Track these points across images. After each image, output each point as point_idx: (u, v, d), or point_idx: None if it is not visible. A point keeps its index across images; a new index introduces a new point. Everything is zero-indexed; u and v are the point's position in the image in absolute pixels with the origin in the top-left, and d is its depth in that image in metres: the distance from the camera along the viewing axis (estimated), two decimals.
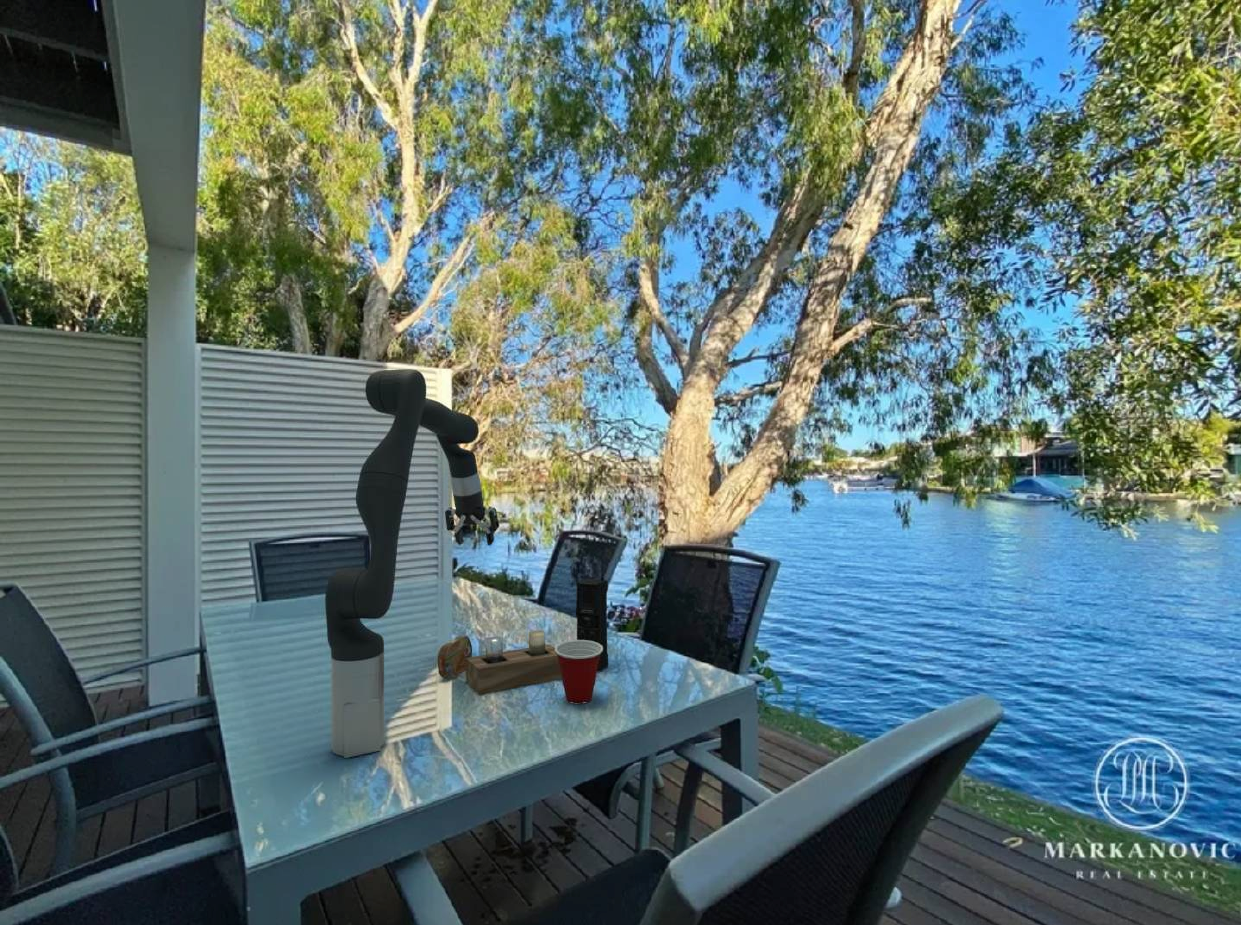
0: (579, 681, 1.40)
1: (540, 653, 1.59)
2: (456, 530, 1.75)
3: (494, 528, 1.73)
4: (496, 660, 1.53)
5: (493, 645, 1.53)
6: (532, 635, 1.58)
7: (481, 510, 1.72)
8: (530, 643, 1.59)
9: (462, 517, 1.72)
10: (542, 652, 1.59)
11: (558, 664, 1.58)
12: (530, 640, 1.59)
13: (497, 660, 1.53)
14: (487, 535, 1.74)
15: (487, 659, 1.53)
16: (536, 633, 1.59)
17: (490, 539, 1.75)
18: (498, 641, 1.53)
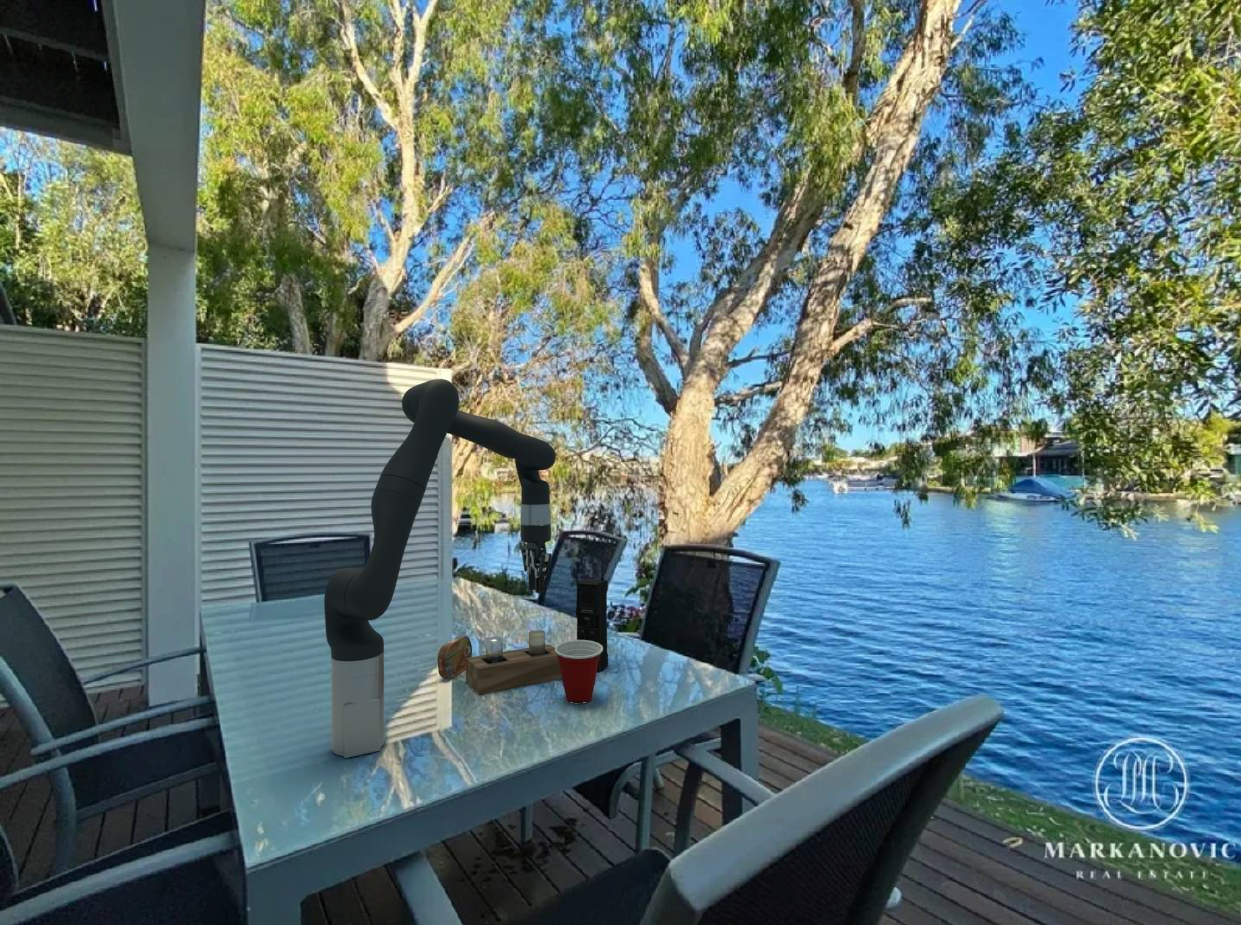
0: (579, 681, 1.40)
1: (540, 653, 1.59)
2: (528, 572, 1.62)
3: (539, 573, 1.56)
4: (496, 660, 1.53)
5: (493, 645, 1.53)
6: (532, 635, 1.58)
7: (538, 548, 1.57)
8: (530, 643, 1.59)
9: (526, 552, 1.61)
10: (542, 652, 1.59)
11: (558, 664, 1.58)
12: (530, 640, 1.59)
13: (497, 660, 1.53)
14: (535, 580, 1.58)
15: (487, 659, 1.53)
16: (536, 633, 1.59)
17: (538, 586, 1.58)
18: (498, 641, 1.53)
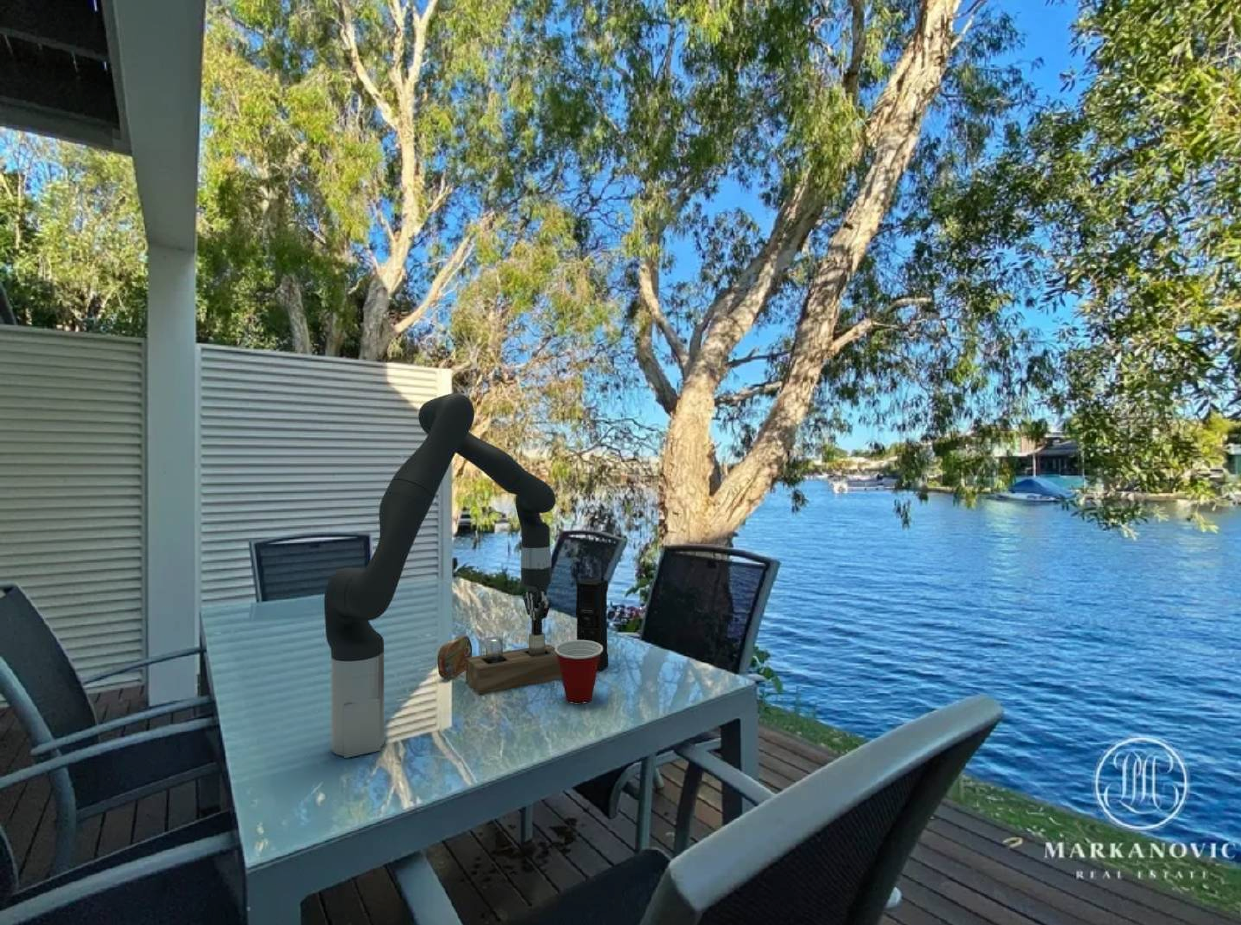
0: (579, 681, 1.40)
1: None
2: (531, 616, 1.60)
3: (536, 616, 1.57)
4: (496, 660, 1.53)
5: (493, 645, 1.53)
6: (532, 637, 1.58)
7: (539, 593, 1.56)
8: (530, 645, 1.59)
9: (526, 595, 1.61)
10: None
11: (558, 664, 1.58)
12: (530, 642, 1.59)
13: (497, 660, 1.53)
14: (533, 622, 1.59)
15: (487, 659, 1.53)
16: (536, 635, 1.59)
17: (535, 628, 1.59)
18: (498, 641, 1.53)
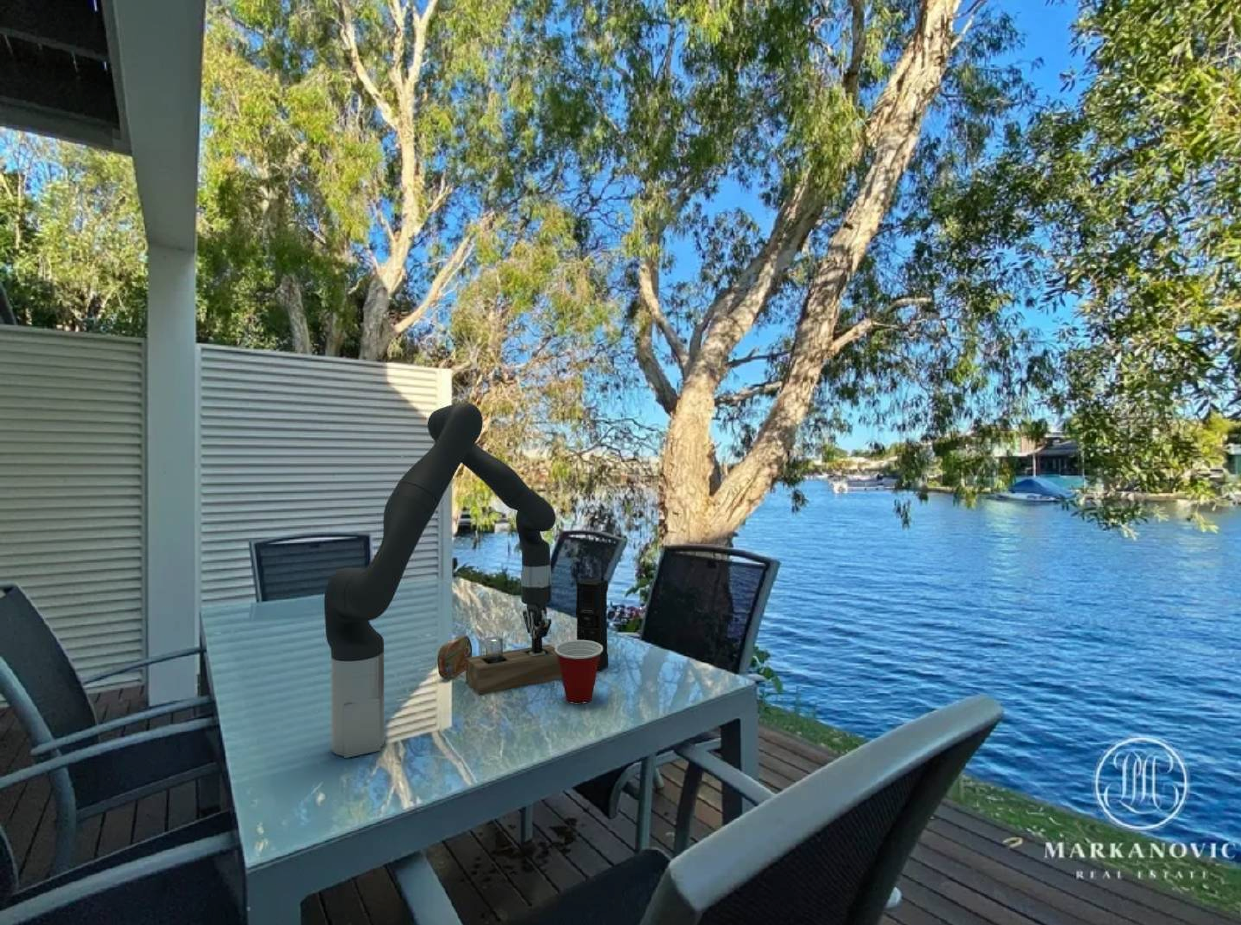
0: (579, 681, 1.40)
1: None
2: (531, 634, 1.60)
3: (537, 635, 1.57)
4: (496, 660, 1.53)
5: (493, 645, 1.53)
6: None
7: (539, 611, 1.56)
8: None
9: (527, 613, 1.61)
10: None
11: (558, 664, 1.58)
12: None
13: (497, 660, 1.53)
14: (533, 640, 1.59)
15: (487, 659, 1.53)
16: (536, 654, 1.59)
17: (535, 646, 1.59)
18: (498, 641, 1.53)
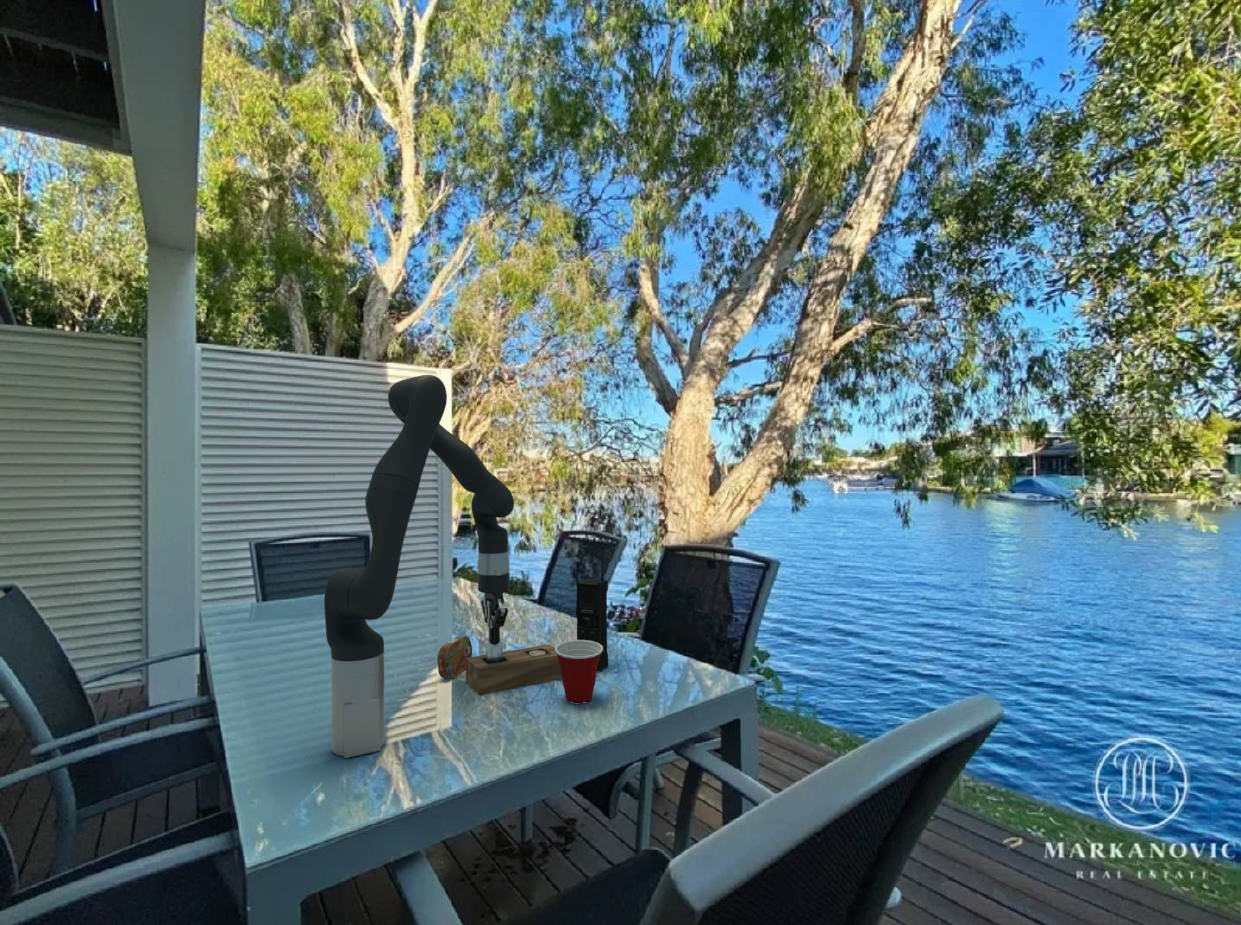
0: (579, 681, 1.40)
1: None
2: (488, 624, 1.54)
3: (493, 624, 1.52)
4: None
5: (493, 650, 1.53)
6: None
7: (496, 600, 1.51)
8: None
9: (484, 602, 1.55)
10: None
11: (558, 664, 1.58)
12: None
13: None
14: (490, 630, 1.54)
15: None
16: (536, 654, 1.59)
17: (492, 636, 1.54)
18: (498, 646, 1.53)
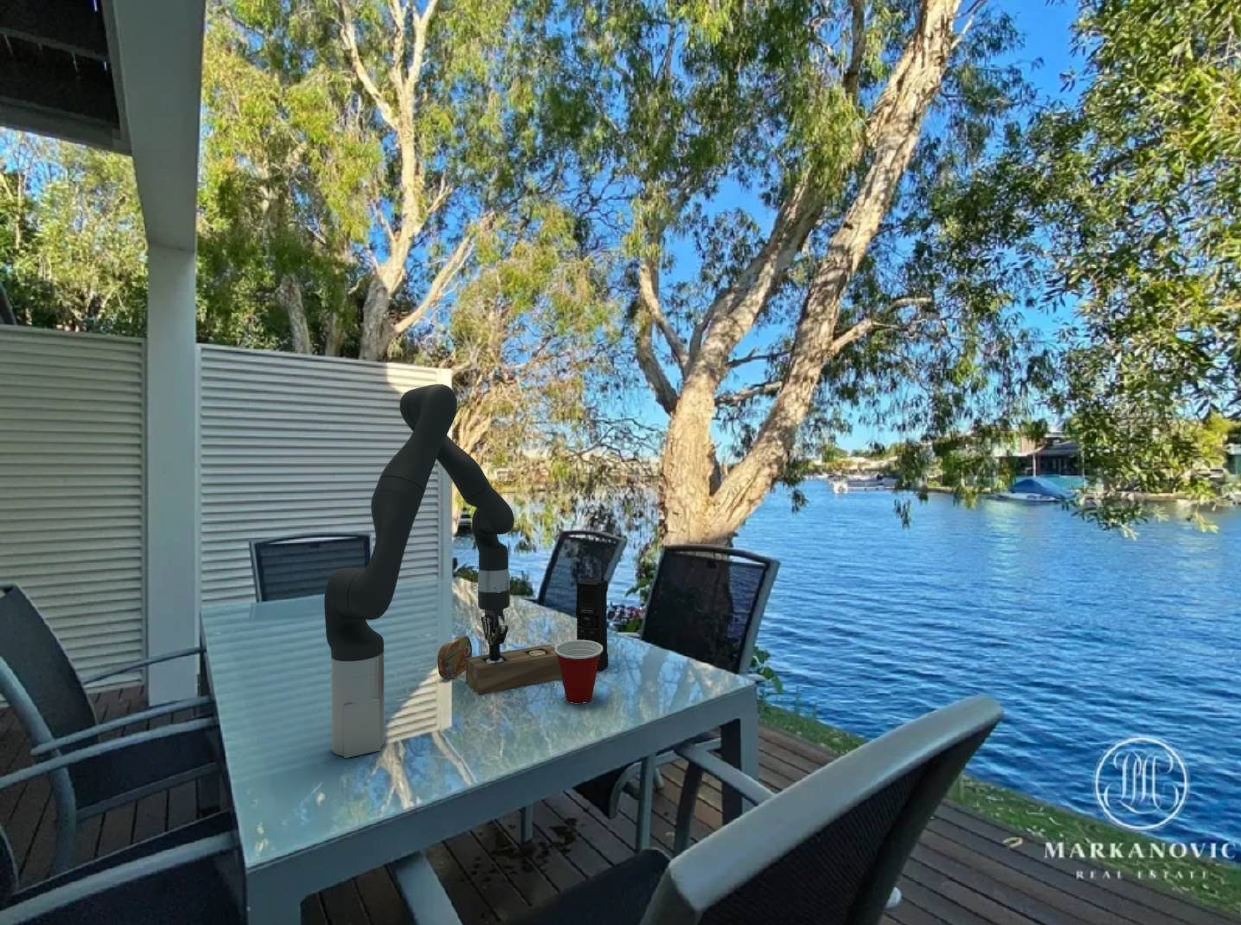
0: (579, 681, 1.40)
1: None
2: (488, 641, 1.54)
3: (493, 641, 1.52)
4: None
5: None
6: None
7: (496, 617, 1.51)
8: None
9: (484, 619, 1.55)
10: None
11: (558, 664, 1.58)
12: None
13: None
14: (490, 647, 1.54)
15: None
16: (536, 654, 1.59)
17: (492, 653, 1.53)
18: None
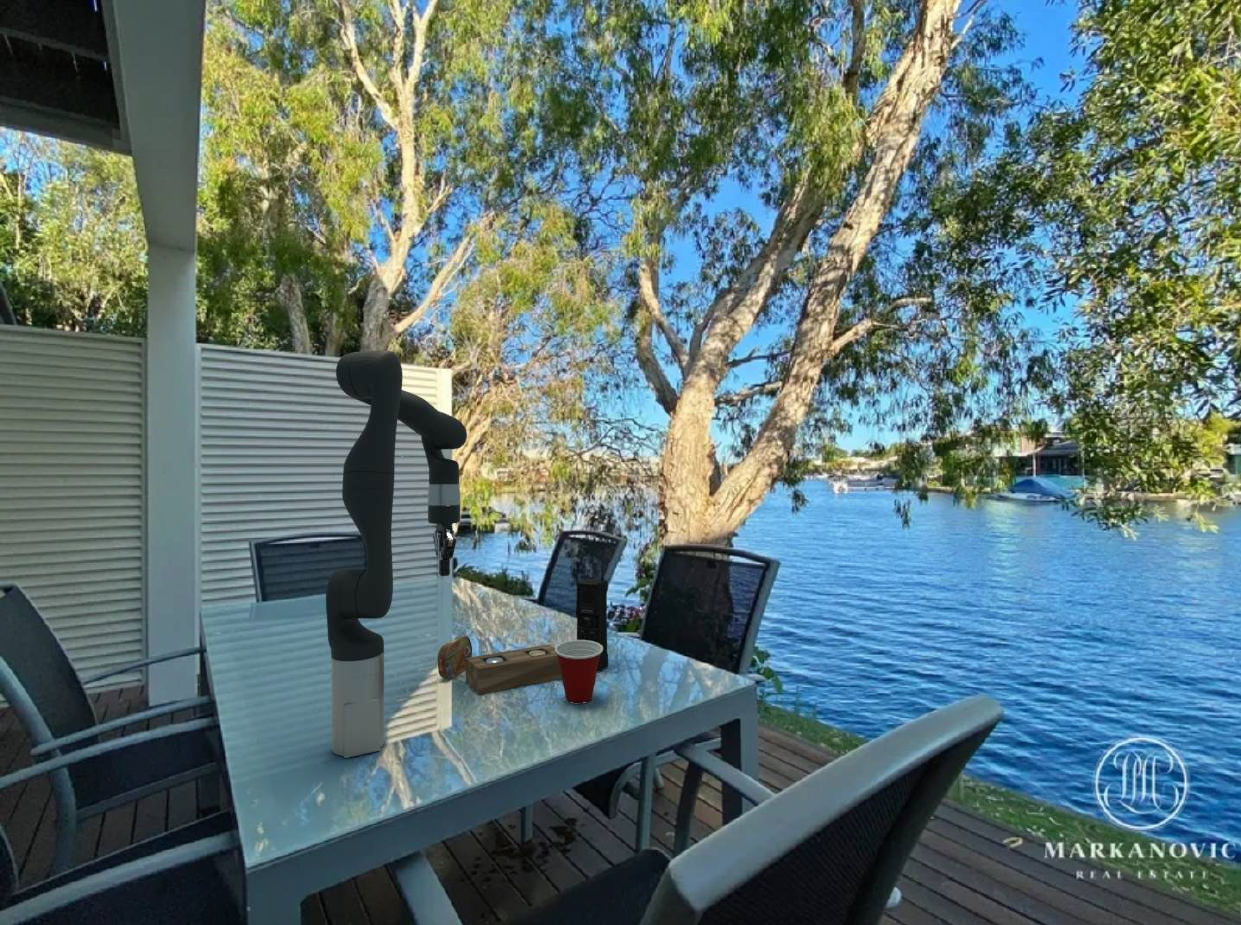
0: (579, 682, 1.40)
1: None
2: (438, 556, 1.54)
3: (442, 555, 1.51)
4: None
5: None
6: None
7: (444, 531, 1.51)
8: None
9: (434, 534, 1.55)
10: None
11: (558, 664, 1.58)
12: None
13: None
14: (440, 562, 1.54)
15: None
16: (536, 654, 1.59)
17: (442, 568, 1.53)
18: None
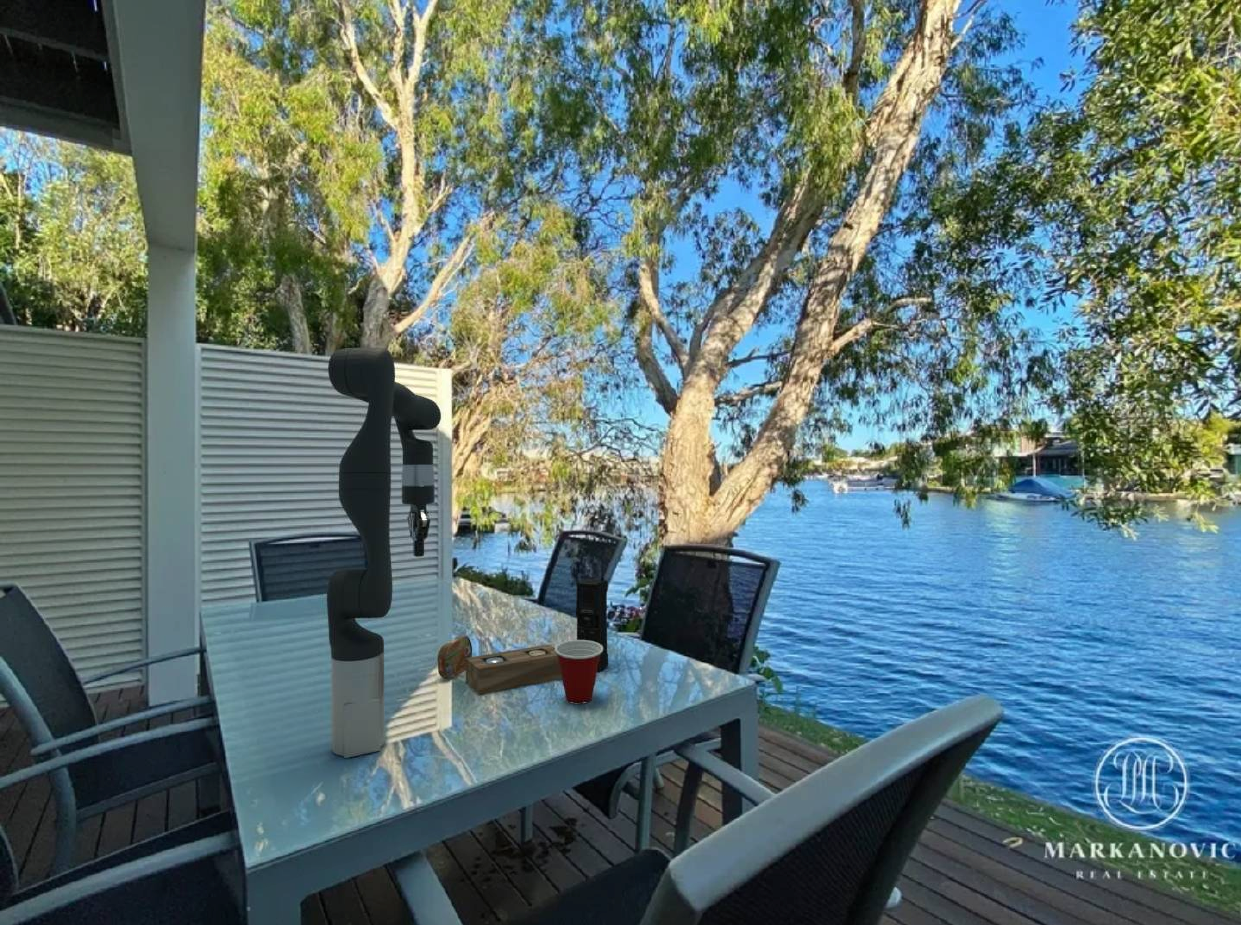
0: (579, 681, 1.40)
1: None
2: (412, 537, 1.54)
3: (416, 536, 1.51)
4: None
5: None
6: None
7: (418, 511, 1.51)
8: None
9: (408, 515, 1.55)
10: None
11: (558, 664, 1.58)
12: None
13: None
14: (414, 543, 1.54)
15: None
16: (536, 654, 1.59)
17: (416, 549, 1.53)
18: None
